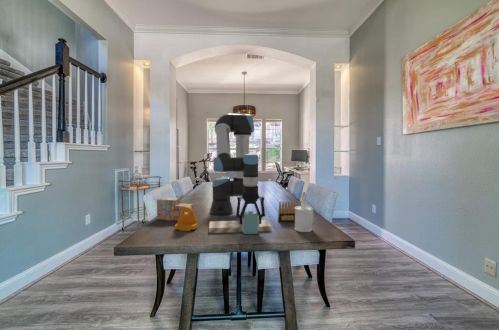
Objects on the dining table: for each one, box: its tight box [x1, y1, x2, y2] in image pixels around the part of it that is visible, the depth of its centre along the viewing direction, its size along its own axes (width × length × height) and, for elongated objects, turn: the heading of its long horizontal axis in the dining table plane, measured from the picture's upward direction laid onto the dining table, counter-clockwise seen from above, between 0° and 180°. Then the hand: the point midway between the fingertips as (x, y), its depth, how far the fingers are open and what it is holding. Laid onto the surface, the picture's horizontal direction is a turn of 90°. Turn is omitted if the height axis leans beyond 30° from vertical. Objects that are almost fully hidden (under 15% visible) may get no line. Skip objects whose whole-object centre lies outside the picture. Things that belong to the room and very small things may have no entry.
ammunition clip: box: [277, 201, 297, 223], centre depth 149 cm, size 11×2×12 cm, turn 95°
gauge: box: [243, 210, 259, 235], centre depth 134 cm, size 7×14×11 cm, turn 5°
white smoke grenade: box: [293, 191, 314, 233], centre depth 134 cm, size 10×9×20 cm
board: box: [208, 219, 272, 234], centre depth 137 cm, size 32×12×2 cm, turn 96°
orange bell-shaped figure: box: [174, 205, 199, 232], centre depth 136 cm, size 11×7×12 cm, turn 90°
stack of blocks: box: [156, 197, 194, 222], centre depth 154 cm, size 21×6×12 cm, turn 73°
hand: (250, 230), depth 129 cm, fingers closed on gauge, 7 cm apart
